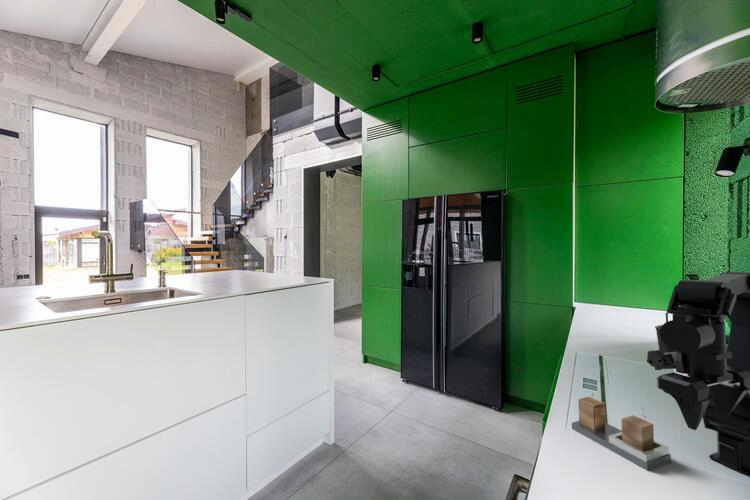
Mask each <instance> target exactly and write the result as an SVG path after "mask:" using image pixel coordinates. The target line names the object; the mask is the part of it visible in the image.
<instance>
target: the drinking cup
mask: <svg viewBox="0 0 750 500" xmlns="http://www.w3.org/2000/svg"><path fill="white" fill-rule="evenodd" d="M668 321H669V313H667V312H665V323H666V322H668ZM662 326H663V324H659V325H655V326H654V328H655V331H656V338H657V343H658V350H661V351H662V352H663V353H667V352H677V351H676V350H673V349H671V348H669V347H668V346H667V345H666V344H665V343H664V342H663V341H662V339H661V337H660V329H661V327H662Z"/></svg>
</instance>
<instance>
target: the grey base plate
mask: <svg viewBox="0 0 750 500" xmlns="http://www.w3.org/2000/svg"><path fill="white" fill-rule="evenodd" d="M571 429H572V430H573V431H576V432H577V433H579V434H580V435H582V436H584V437H587V438H588V439H590V440H591V441H593V442H595V443H597V444H599V445H601V446H602V447H605V448H606V449H608V450H609V451H612V452H613V453H615V454H617V455H619V456H620V457H622V458H624V459H626V460H628V461H629V462H631V463H633V464H635V465H637V466H639V467H640V468H641V469H644V470H646V471H650V470H652V469H655V468H658V467H660V466H663V465H666V464H667V463H670V462H672V454H671V453H670V447H669V446H667V445H665V444H663V443H661V442H659V441H656V440H654V449H652V450H649V451H646V452H643V451H641V450H639V449H637V448H635V447H633V446H631V445H630V444H628V443H626V442H624V441H622V429H619V428H617V427H615V426H613V425H610V423H607V422H605V427H604V428H600V429H597V430H593V429H591V428H589V427H587V426H585V425H584V424H582V423H580V422H579V420H577V421H573V422H571Z"/></svg>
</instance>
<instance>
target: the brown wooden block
mask: <svg viewBox="0 0 750 500" xmlns="http://www.w3.org/2000/svg"><path fill="white" fill-rule="evenodd" d="M605 405H606V403H605V402H603V401H600V400H598V399H596V398H594V397H591V396H586V397H581V398H578V421H579V422H580V423H582V424H584V425H585V426H587V427H589V428H591V429H593V430H597V429H600V428H604V427H605V423H606V406H605Z"/></svg>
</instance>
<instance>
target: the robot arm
mask: <svg viewBox="0 0 750 500" xmlns="http://www.w3.org/2000/svg"><path fill="white" fill-rule="evenodd" d="M666 313H668V314H670V315H672V320H668V322H666V321H665V323H663V324H662V325H663V326H662V327H661V329H660V337H661V339H662V341H663V342H664V343H665V344H666V345H667V346H668V347H669V348H671V349H673V350H676V351H677V352H667V353H663V352H662V351H661V350H659V349H657V350H655V349H653V350H648V351H647V355H646V363H647V364H649V366H651V367H653V368H654V370H655V371H661V370H675V372H669V373H663V374H661V375H659V376H657V377H656V387H657V388H658V389H659V390H661V391H663V392H664V393H666V394H667V395H670V397H672V398H673V399H674V400H675V402H676V404H677V406H678V407H679V410H680V412H681V415H682V416H683V419H684V421H685V424H686V425H687V428H688V429H690V430H692V431H696V430H698V428H699V426H700V423H701V421H703V424H704V428H705V429H707V430H711V431H714V432H716V444H717V445H716V447H717V448H716V449H717V452H714V453H711V454H710V455H708V458H709V459H710V460H713V461H715V462H717V463H720V464H722V465H724V466H726V467H728V468H731V469H733V470H735V471H737V472H738V473H741V472H742V473H741V474H744V473H745V474H744V475H746V474H748V475H750V272H747V271H744V272H743V271H725V272H721V273H720V274H719V275H716V276H713V277H711V278H708V279H705V280H704V279H703V280H701V279H681V280H679V281H678V282H677V284H676V285H674V287H673V290H672V293H671V296H670V299H669V302H668V305H667V309H666ZM726 318H727V319H728V320H729V322H730V327H729V334H728V338H726V321H725V320H726ZM726 339H728V340H727V341H726ZM726 342H727V343H726ZM748 475H747V476H748Z"/></svg>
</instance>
